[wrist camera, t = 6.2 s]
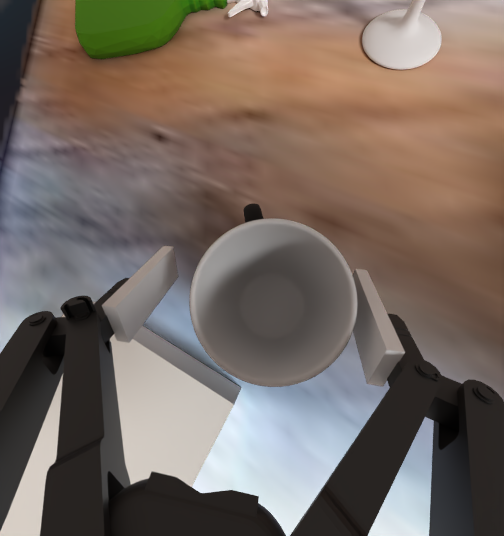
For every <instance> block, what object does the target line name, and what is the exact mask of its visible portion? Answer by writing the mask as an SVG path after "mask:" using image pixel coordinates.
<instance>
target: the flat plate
mask: <svg viewBox="0 0 504 536" xmlns="http://www.w3.org/2000/svg"><path fill="white" fill-rule="evenodd" d="M95 303H96V302H93V304H95ZM62 317H65V315H64V314H63V315H62ZM110 341H111V346H112V354H113V363H114V372H115V380H116V389H117V397H118V406H119V415H120V423H121V432H122V440H123V449H124V458H125V464H126V468H127V471H128V475H129V479H130V484H133V483H136V482H138V481H141V480H144V479H149V477H150V474H151V472H152V471H153V472H157V473H161V474H166V475H170V476H174V477H177V478H179V479H180V480H182V481H183V482H185V483H186V484H188V485H189V486H190V487H192V485H193V483H194V482H195V480H196V478H197V476H198V474H199V472H200V470H201V468H202V466H203V464H204V462H205V460H206V458H207V456H208V454H209V452H210V450H211V448H212V446H213V445H214V443H215V441H216V439H217V437H218V435H219V433H220V431H221V429H222V427H223V425H224V423H225V421H226V419H227V417H228V415H229V413H230V411H231V409H232V408H233V406H234V403H235V401H236V399H237V397H238V394H239V392H240V390H241V387H239V386H238V385H236V384H235V383H233V382H231V381H230V380H228V379H227V378H225V377H223V376H222V375H220V374H219V373H217V372H216V371H214V370H212V369H211V368H209V367H208V366H206V365H204V364H203V363H201V362H200V361H198V360H196V359H195V358H193V357H192V356H190V355H188V354H187V353H185V352H184V351H182V350H180V349H179V348H177V347H176V346H174V345H172V344H171V343H169V342H168V341H166V340H165V339H163V338H161V337H160V336H158V335H157V334H155V333H153V332H152V331H150V330H149V329H147V328H145V327H144V326H141V328H140V329H139V330H138V332H137V333H136V334H135V336H134V337H133V339H132V340H131V341H130V343H127V342H121V341H117V340H116V338H115V335H113V336H112V337H111V338H110ZM62 380H63V374H62V377H61V380H60V382H59V385H58V387H57V390H56V392H55V395H54V397H53V400H52V403H51V405H50V408H49V410H48V413H47V415H46V418H45V420H44V423H43V426H42V428H41V431H40V433H39V436H38V438H37V441H36V443H35V446H34V448H33V451H32V454H31V456H30V459H29V461H28V464H27V466H26V469H25V471H24V474H23V477H22V479H21V482H20V484H19V487H18V489H17V492H16V494H15V497H14V499H13V502H12V505H11V507H10V510H9V512H8V515H7V517H6V519H5V522H4V524H3V526H2V529H1V531H0V536H40V530H41V520H42V510H43V501H44V491H45V481H46V475H47V471H48V469H49V467H50V466H51V465H52V464H54V463H55V461H56V456H57V444H58V431H59V419H60V406H61V393H62Z"/></svg>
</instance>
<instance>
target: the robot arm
mask: <svg viewBox="0 0 504 536" xmlns="http://www.w3.org/2000/svg"><path fill="white" fill-rule="evenodd" d="M177 278H178V272H177V266H176V260H175V254H174V248H173V247H170V246H163V247H162V248H161V249H160V250H159V251H158V252H157V253H156V254H155V255H154V256H153V257H151V258H150V259H149V260H148V261H147V262H146V263H145V264H144V265H143V266H142V267H141V268H140V269H139V270H138V271H137V272H136V273H135V274H134V275H133V276H132V277H131V278H125V279H123V280H121V281H119V282H117V283H116V284H115V285H114V286H113V287H112V289H110V290H109V291H108V292H107V293H105V294H104V295H103V296H102V297H101V298H100V299H99V300H98V301H97V302H96V303H95V304H93V302H92V300H91V298H90V297H88V296H78V297H74V298H71V299H69V300H68V301H66V302H65V303H64V304H63V305H62V306H61V310H62V312H63V314H64V315H65V317H59V318H55V317H54V315H53V314H52V312H49V311H42V312H38V313H35V314H33V315H31V316H29V317H27V318H26V319H25V320H24V321H23V322H22V323H21V324H20V326H19V327H18V329H17V330H16V332H15V333H14V334H13V336H12V337H11V339H10V340H9V342H8V343H7V345H6V346H5V348H4V349H3V351H2V352H1V353H0V531H1V529H2V526H3V524H4V522H5V519H6V517H7V515H8V512H9V510H10V507H11V505H12V502H13V499H14V497H15V494H16V492H17V489H18V487H19V484H20V482H21V479H22V477H23V474H24V471H25V469H26V466H27V464H28V461H29V459H30V456H31V454H32V451H33V448H34V446H35V443H36V441H37V438H38V436H39V433H40V431H41V428H42V426H43V423H44V420H45V418H46V415H47V413H48V410H49V408H50V405H51V403H52V400H53V397H54V395H55V392H56V390H57V387H58V385H59V382H60V380H61V377H62V374H63V380H62V393H61V406H60V419H59V431H58V444H57V456H56V461H55V463H54V464H52V465H51V466H50V467H49V469H48V471H47V475H46V481H45V491H44V501H43V510H42V520H41V530H40V536H286V535H285V533H284V532H283V530H282V528H281V526H280V525H279V523H278V522H277V520H276V519H275V518H274V517H273V515H272V514H271V513H270V512H269V511H268V510H267V509H265V508H264V507H263V506H261V505H260V504H259V503H258V497H259V496H255V495H250V494H246V493H242V492H238V491H233V490H228V491H220V492H211V493H199V492H198V491H196V490H195V489H193V488H192V487H190V486H189V485H188V484H186V483H185V482H183V481H182V480H180V479H179V478H177V477H174V476H170V475H166V474H161V473H157V472H153V471H152V472H151V474H150V477H149V479H144V480H141V481H138V482H136V483H133V484H130V479H129V475H128V471H127V468H126V464H125V458H124V449H123V440H122V432H121V423H120V415H119V406H118V397H117V389H116V380H115V372H114V363H113V354H112V346H111V341H110V338H111V337H112V336H113V335H115V338H116V340H117V341H121V342H127V343H130V341H131V340H132V339H133V337H134V336H135V334H136V333H137V332H138V330H139V329H140V328H141V326H142V325H143V324H144V322H145V321H146V320H147V318H148V317H149V316H150V314H151V313H152V312H153V310H154V309H155V308H156V306H157V305H158V304H159V302H160V301H161V299H162V298H163V297H164V295H165V294H166V293H167V291H168V290H169V289H170V287H171V286H172V285H173V283H174V282H175V281H176V279H177ZM353 278H354V282H355V286H356V291H357V316H356V322H355V325H354V329H353V333H354V336H355V340H356V344H357V348H358V352H359V355H360V359H361V363H362V367H363V370H364V374H365V378H366V382H367V384H371V385H376V386H382V387H383V386H384V384H385V383H386V381H388V384H389V386H390V389H389V390H388V392H387V393H386V395H385V396H384V397H383V399H382V401H381V402H380V403H379V405H378V406H377V408H376V409H375V411H374V412H373V414H372V415H371V417H370V418H369V420H368V421H367V423H366V424H365V426H364V427H363V429H362V430H361V432H360V433H359V435H358V436H357V438H356V439H355V441H354V442H353V443H352V445H351V446H350V448H349V449H348V451H347V452H346V454H345V455H344V457H343V458H342V460H341V461H340V463H339V464H338V466H337V467H336V469H335V470H334V472H333V473H332V475H331V476H330V478H329V479H328V480H327V482H326V483H325V485H324V486H323V488H322V489H321V491H320V492H319V494H318V495H317V497H316V498H315V500H314V501H313V503H312V504H311V506H310V507H309V509H308V510H307V511H306V513H305V514H304V516H303V517H302V519H301V520H300V522H299V523H298V525H297V526H296V528H295V529H294V531H293V532H292V534H291V535H290V536H368V533H369V531H370V529H371V527H372V525H373V523H374V521H375V519H376V516H377V514H378V512H379V510H380V508H381V506H382V504H383V502H384V500H385V498H386V496H387V494H388V492H389V490H390V488H391V486H392V484H393V481H394V479H395V477H396V475H397V473H398V471H399V469H400V467H401V465H402V463H403V461H404V459H405V457H406V455H407V453H408V451H409V448H410V446H411V444H412V442H413V440H414V438H415V436H416V434H417V432H418V430H419V428H420V426H421V424H422V422H423V420H424V418H425V417H427V418H429V419H432V420H434V431H433V455H432V480H431V505H430V530H429V536H504V402H503V399H502V398H501V397H500V396H499V394H498V393H497V392H496V391H494V390H493V389H492V388H491V387H489V386H488V385H486V384H484V383H482V382H479V381H476V380H467V381H465V382H464V383H463V384H461V383H458V382H456V381H453V380H451V379H448V378H446V377H444V376H442V375H441V374H440V372H439V371H438V370H437V368H436V367H435V366H433V365H432V364H431V363H429V362H427V361H425V360H424V359H423V357H422V355H421V353H420V351H419V349H418V348H417V346H416V344H415V342H414V340H413V338H412V337H411V334H410V332H409V331H408V329H407V327H406V325H405V323H404V321H402V320H401V319H400V318H399V317H398V316H397V315H394V314H387V312H386V310H385V308H384V306H383V304H382V301H381V299H380V297H379V295H378V293H377V291H376V288H375V286H374V284H373V282H372V280H371V278H370V276H369V273H368V271H367V270H363V269H355V271H354V274H353Z"/></svg>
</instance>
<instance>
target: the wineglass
mask: <svg viewBox="0 0 504 536" xmlns="http://www.w3.org/2000/svg"><path fill="white" fill-rule="evenodd" d="M424 2H425V0H413V1H412V3H411V5H410V7H409V8H408V9H400V10H393V11H389V12H386V13H383V14H381V15H379V16H378V17H376V18H375V19H373V20H372V21H371V22H370V23H369V24H368V25H367V27H366V28H365V30H364V32H363V36H362V44H363V48H364V51H365V52H366V54H367V55H368V57H369V58H370V59H372V60H373V61H374V62H376V63H377V64H379V65H381V66H384V67H387V68H391V69H398V70H404V69H412V68H416V67H419V66H421V65H423V64H425V63H427V62H428V61H430V60H431V59H432V58H433V57H434V56H435V55H436V54H437V52H438V51H439V49H440V46H441V32H440V30H439V28H438V26H437V24H436V23H435V22H434V21H433V20H432V19H431V18H430V17H428V16H427V15H425V14H423V13H421V9H422V7H423V4H424Z"/></svg>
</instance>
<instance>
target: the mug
mask: <svg viewBox="0 0 504 536" xmlns="http://www.w3.org/2000/svg"><path fill="white" fill-rule="evenodd" d="M244 216H245V223H244V224H241V225H239V226H237V227H235V228H233V229H231V230H229V231H228V232H226V233H225V234H223V235H222V236H221V237H219V238H218V239H217V240H216V241H215V242H214V243H213V244H212V245H211V246H210V247H209V249H208V250H207V251H206V252H205V254H204V255H203V257H202V258H201V260H200V262H199V264H198V266H197V268H196V271H195V273H194V276H193V279H192V284H191V288H190V314H191V320H192V324H193V327H194V330H195V333H196V335H197V338H198V339H199V341H200V343H201V345H202V347H203V348H204V350H205V351H206V353H207V354H208V355H209V356H210V358H211V359H212V360H213V361H214V362H215V363H216V364H217V365H218V366H220V367H221V368H222V369H223V370H225V371H226V372H228V373H229V374H231V375H232V376H234V377H236V378H238V379H240V380H243V381H245V382H248V383H251V384H255V385H260V386H268V387H282V386H290V385H294V384H298V383H301V382H304V381H306V380H309V379H311V378H313V377H315V376H316V375H318V374H320V373H321V372H323V371H324V370H325V369H326V368H328V367H329V366H330V365H331V364H332V363H333V362H334V361H335V360H336V359H337V358H338V357H339V355H340V354H341V353H342V351H343V350H344V348H345V347H346V345H347V343H348V341H349V339H350V337H351V334H352V332H353V329H354V325H355V322H356V316H357V291H356V286H355V282H354V278H353V275H352V272H351V270H350V268H349V266H348V264H347V262H346V260H345V259H344V257H343V255H342V254H341V253H340V251H339V250H338V249H337V248H336V247H335V245H334V244H333V243H332V242H330V241H329V240H328V239H327V238H326V237H325V236H323V235H322V234H321V233H319V232H318V231H316V230H314V229H312V228H311V227H309V226H306V225H304V224H301V223H299V222H295V221H291V220H286V219H278V218H268V219H263V216H262V212H261V209H260V206H259V205H258V204H249V205H247V206H246V207H245V208H244Z"/></svg>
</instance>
